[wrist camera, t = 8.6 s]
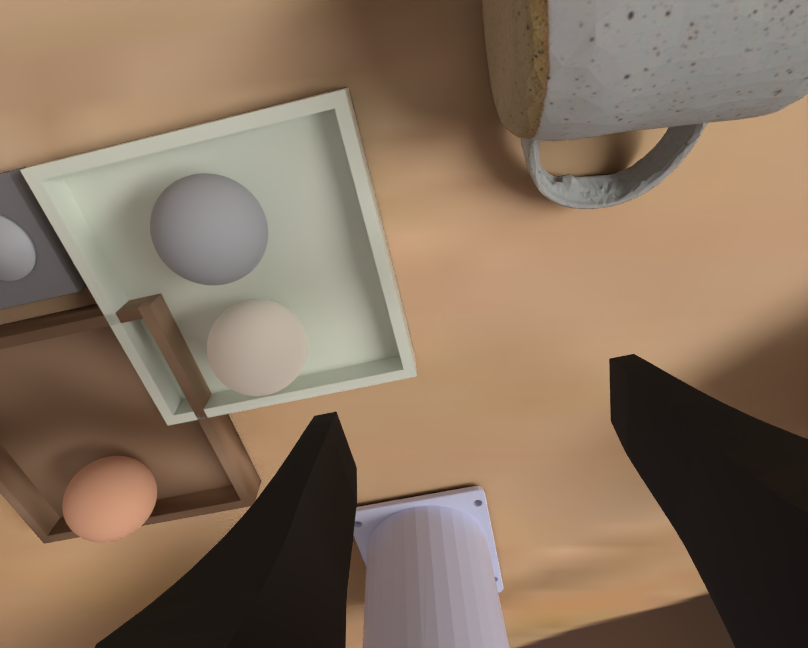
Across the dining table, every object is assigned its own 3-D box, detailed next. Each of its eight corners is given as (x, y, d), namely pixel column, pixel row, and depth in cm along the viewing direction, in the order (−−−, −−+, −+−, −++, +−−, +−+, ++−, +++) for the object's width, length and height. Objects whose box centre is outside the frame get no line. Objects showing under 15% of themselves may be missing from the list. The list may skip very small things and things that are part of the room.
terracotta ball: (182, 488, 27) (150, 553, 23) (114, 500, 27) (72, 566, 23) (148, 432, 25) (108, 494, 21) (75, 446, 25) (24, 509, 22)
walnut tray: (261, 481, 27) (253, 505, 26) (62, 517, 28) (43, 543, 27) (165, 288, 22) (148, 305, 20) (-79, 342, 23) (-112, 362, 21)
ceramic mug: (460, -106, 16) (514, -222, 9) (724, -167, 15) (995, -341, 8) (492, 215, 21) (541, 295, 14) (689, 178, 20) (839, 242, 13)
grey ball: (289, 251, 20) (272, 289, 17) (198, 272, 21) (162, 313, 17) (256, 154, 19) (229, 172, 15) (156, 177, 19) (106, 201, 15)
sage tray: (415, 356, 24) (416, 376, 22) (181, 403, 25) (167, 425, 23) (348, 87, 18) (344, 89, 17) (48, 161, 19) (19, 169, 17)
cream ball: (324, 352, 23) (313, 405, 19) (243, 369, 23) (217, 424, 20) (297, 274, 21) (279, 318, 17) (209, 294, 21) (173, 340, 18)
